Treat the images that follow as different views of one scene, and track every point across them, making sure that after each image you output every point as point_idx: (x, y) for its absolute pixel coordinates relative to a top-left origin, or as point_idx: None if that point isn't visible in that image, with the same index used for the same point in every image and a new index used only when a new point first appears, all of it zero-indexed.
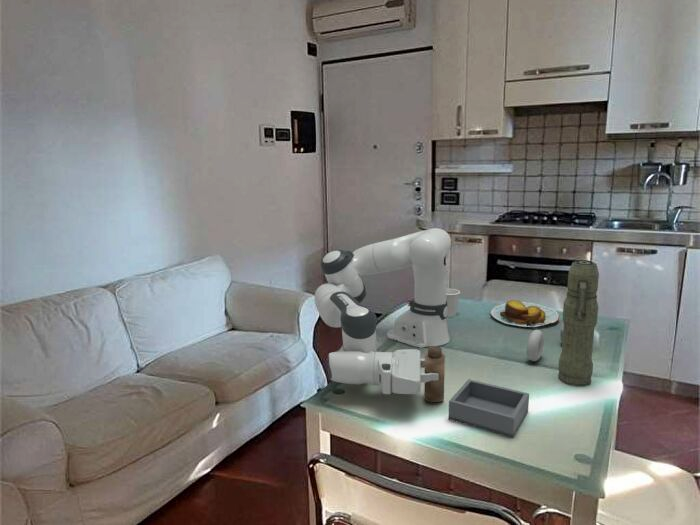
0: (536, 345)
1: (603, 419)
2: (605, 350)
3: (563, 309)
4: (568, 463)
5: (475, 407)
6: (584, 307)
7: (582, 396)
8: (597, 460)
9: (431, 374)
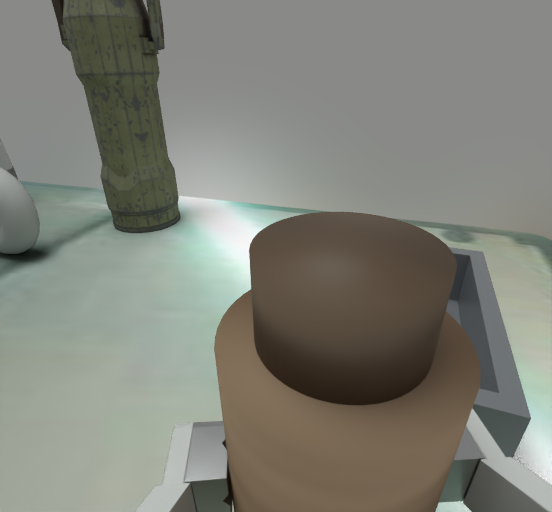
0: (29, 195)
1: (304, 212)
2: (37, 190)
3: (88, 38)
4: (493, 248)
5: (497, 321)
6: (160, 7)
7: (221, 219)
8: (449, 226)
9: (512, 459)
